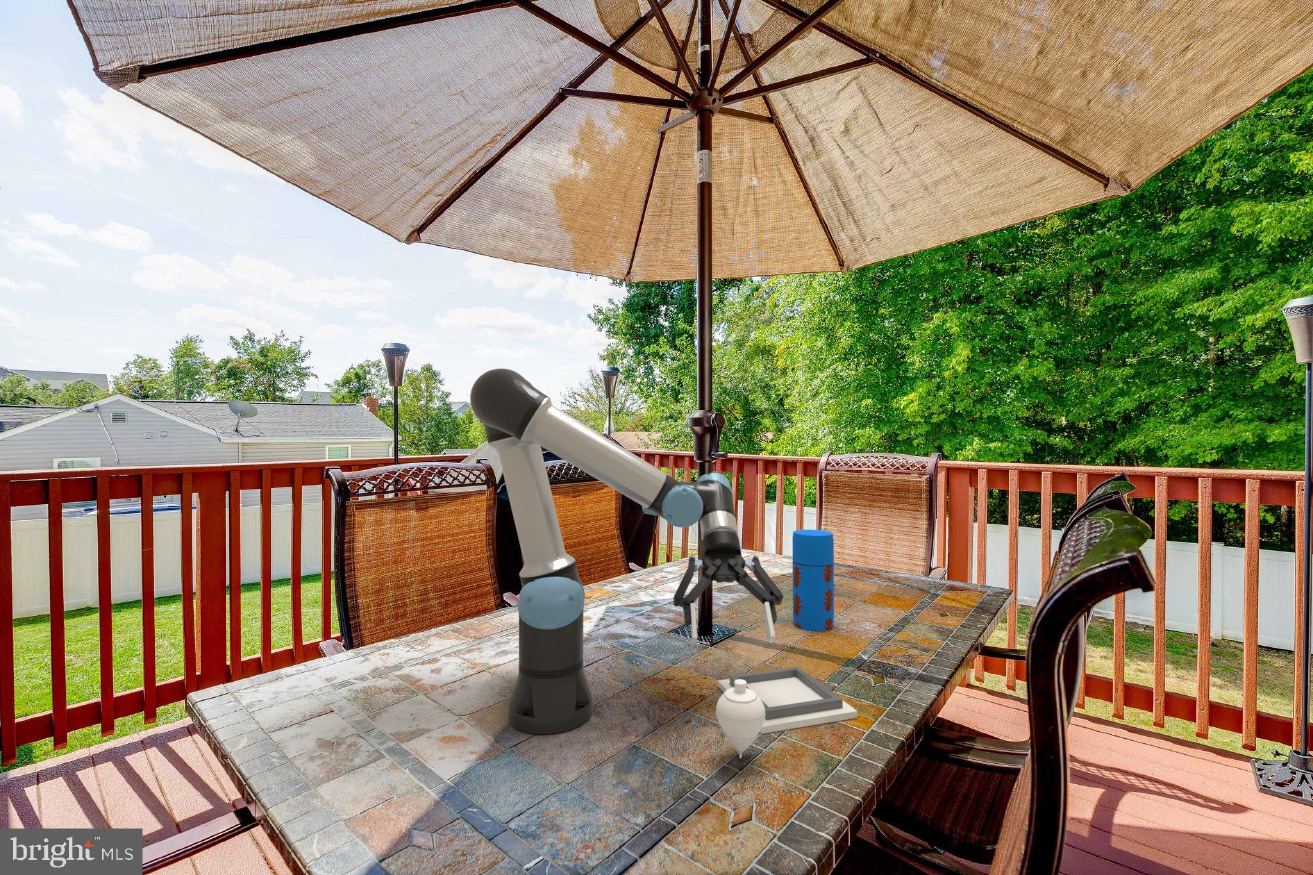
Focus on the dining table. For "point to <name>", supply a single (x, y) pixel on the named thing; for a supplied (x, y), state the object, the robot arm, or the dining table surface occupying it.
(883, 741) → the dining table surface
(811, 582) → the thermos
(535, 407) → the robot arm
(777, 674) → the dock plate
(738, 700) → the spinning top
